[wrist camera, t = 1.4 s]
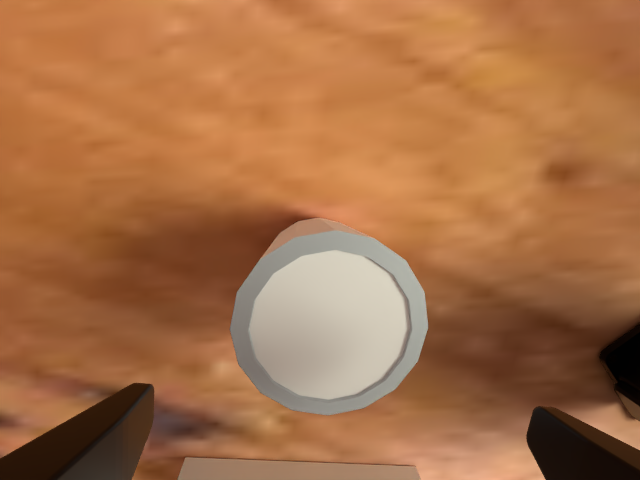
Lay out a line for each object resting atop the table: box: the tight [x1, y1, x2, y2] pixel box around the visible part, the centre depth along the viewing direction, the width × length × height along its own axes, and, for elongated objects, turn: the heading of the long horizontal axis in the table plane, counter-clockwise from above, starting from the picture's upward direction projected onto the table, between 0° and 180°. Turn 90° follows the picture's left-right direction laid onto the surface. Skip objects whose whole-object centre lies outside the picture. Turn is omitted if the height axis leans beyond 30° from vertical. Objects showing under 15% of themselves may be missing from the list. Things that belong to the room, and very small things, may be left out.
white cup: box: [230, 218, 428, 415], centre depth 15 cm, size 7×7×7 cm
